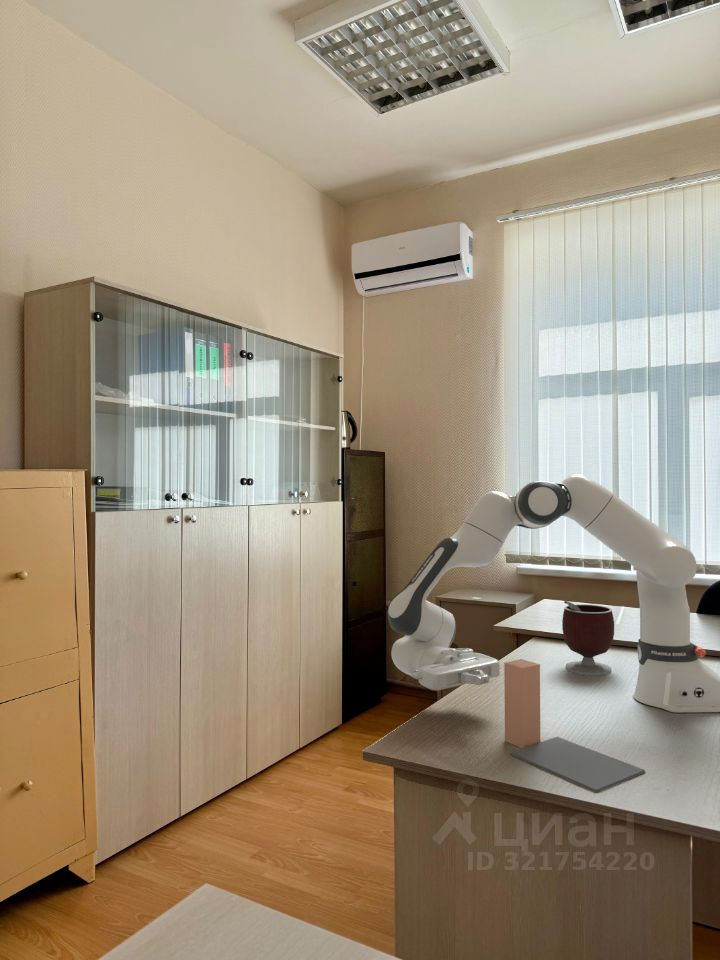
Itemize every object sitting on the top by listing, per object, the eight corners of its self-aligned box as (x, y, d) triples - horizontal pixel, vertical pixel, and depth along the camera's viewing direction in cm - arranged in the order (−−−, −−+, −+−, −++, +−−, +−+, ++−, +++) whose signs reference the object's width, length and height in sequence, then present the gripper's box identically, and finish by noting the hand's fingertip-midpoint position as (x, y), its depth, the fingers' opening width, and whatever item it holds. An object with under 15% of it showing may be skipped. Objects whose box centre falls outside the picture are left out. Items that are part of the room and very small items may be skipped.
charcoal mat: (509, 754, 134) (509, 752, 134) (557, 739, 142) (557, 736, 142) (596, 792, 118) (596, 789, 118) (645, 772, 126) (645, 769, 126)
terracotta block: (504, 740, 141) (504, 662, 141) (521, 735, 144) (521, 659, 144) (523, 748, 137) (522, 668, 137) (540, 743, 140) (539, 664, 140)
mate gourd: (588, 660, 204) (587, 592, 204) (625, 671, 191) (625, 599, 191) (547, 667, 197) (547, 596, 197) (584, 679, 184) (583, 604, 184)
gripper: (407, 660, 155) (448, 674, 144) (473, 647, 167) (516, 658, 155) (407, 688, 155) (448, 704, 144) (474, 673, 167) (517, 686, 155)
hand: (484, 680), depth 150 cm, fingers closed
